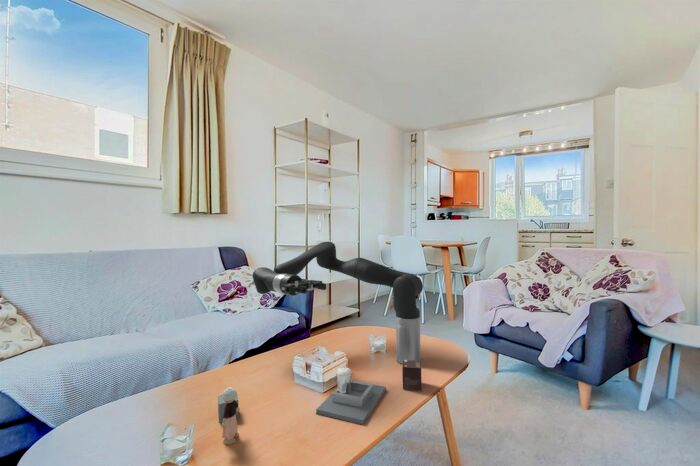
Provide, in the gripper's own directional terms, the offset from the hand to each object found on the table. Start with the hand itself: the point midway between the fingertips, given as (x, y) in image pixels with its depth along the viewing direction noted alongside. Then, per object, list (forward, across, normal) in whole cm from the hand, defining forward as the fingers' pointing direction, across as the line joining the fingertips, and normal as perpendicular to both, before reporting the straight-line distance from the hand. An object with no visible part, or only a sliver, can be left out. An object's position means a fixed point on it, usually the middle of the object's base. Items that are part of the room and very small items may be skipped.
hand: (316, 288), depth 112 cm
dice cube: (-4, -30, +32) cm, 44 cm away
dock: (+17, -1, +32) cm, 36 cm away
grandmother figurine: (+7, -35, +32) cm, 48 cm away
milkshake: (+16, -4, +31) cm, 35 cm away
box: (+25, +18, +32) cm, 45 cm away
